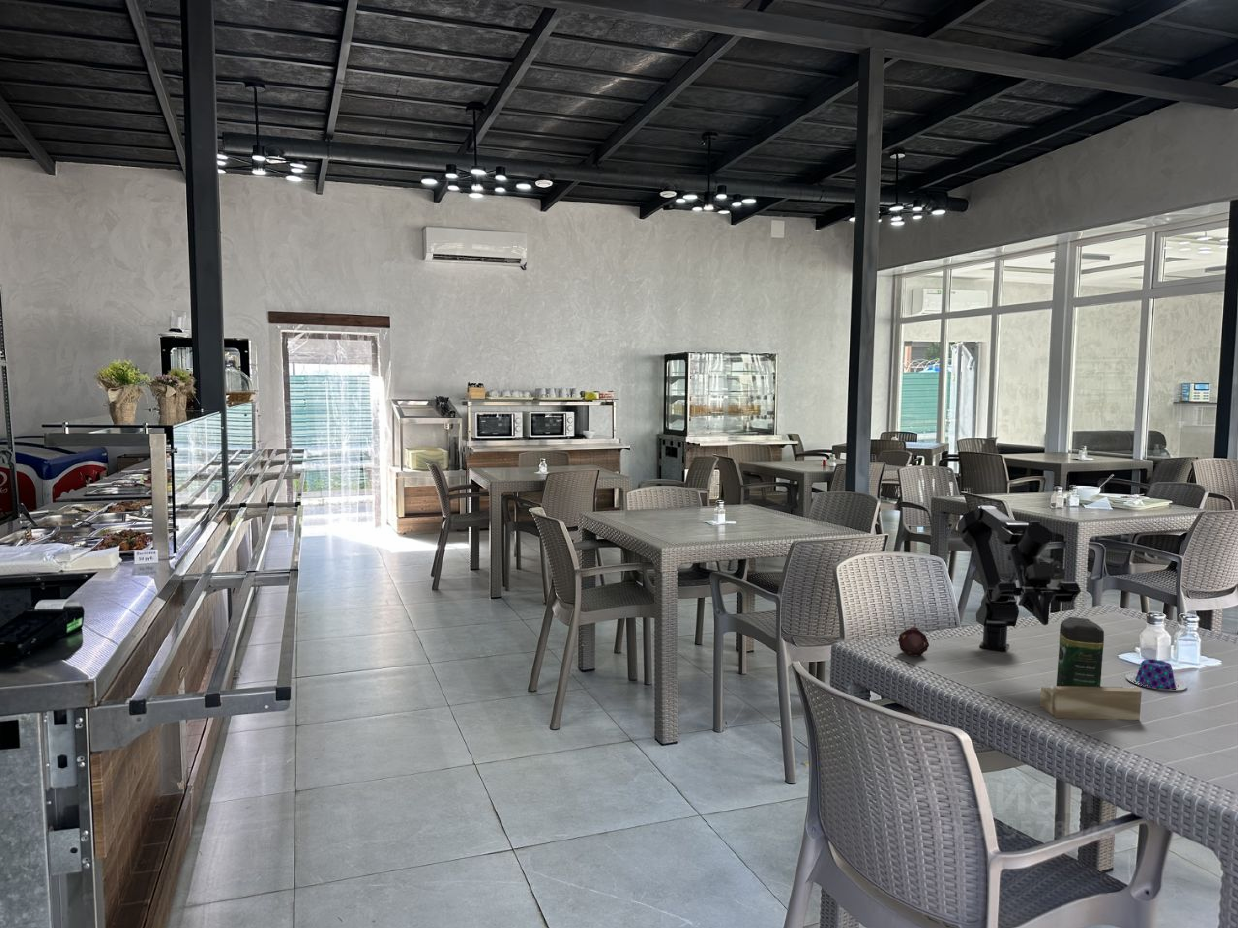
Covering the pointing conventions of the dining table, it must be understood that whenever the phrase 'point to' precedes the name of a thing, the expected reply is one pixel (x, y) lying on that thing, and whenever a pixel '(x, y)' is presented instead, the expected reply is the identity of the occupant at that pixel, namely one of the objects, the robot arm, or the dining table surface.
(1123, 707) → the block
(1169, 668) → the purple patterned hat
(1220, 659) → the dining table surface
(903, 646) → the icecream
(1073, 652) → the coffee jar
